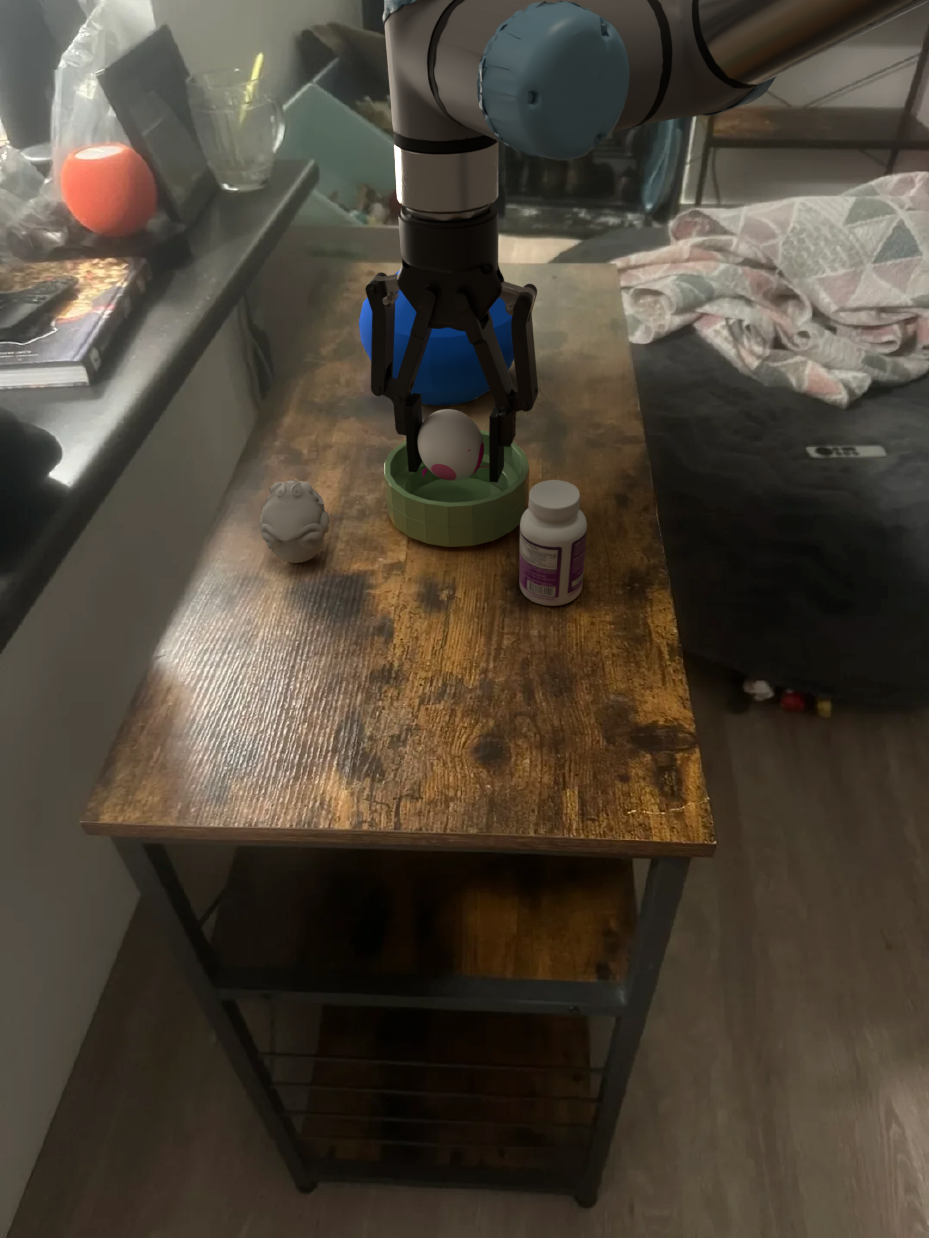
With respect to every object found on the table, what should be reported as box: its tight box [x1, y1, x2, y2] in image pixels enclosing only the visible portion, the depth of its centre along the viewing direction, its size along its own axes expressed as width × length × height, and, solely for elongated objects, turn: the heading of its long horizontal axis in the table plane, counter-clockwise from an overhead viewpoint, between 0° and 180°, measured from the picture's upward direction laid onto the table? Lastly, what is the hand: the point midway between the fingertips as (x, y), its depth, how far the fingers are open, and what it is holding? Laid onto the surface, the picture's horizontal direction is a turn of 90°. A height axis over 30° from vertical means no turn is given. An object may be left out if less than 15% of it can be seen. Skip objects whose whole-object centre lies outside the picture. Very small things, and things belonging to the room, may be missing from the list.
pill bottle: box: [518, 479, 588, 607], centre depth 72 cm, size 5×5×10 cm
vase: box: [358, 269, 514, 407], centre depth 96 cm, size 18×18×19 cm
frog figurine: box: [259, 479, 331, 564], centre depth 77 cm, size 6×7×7 cm
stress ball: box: [418, 408, 489, 481], centre depth 80 cm, size 8×8×7 cm
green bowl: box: [383, 429, 530, 548], centre depth 82 cm, size 13×13×5 cm
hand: (456, 468), depth 81 cm, fingers closed on stress ball, 7 cm apart
